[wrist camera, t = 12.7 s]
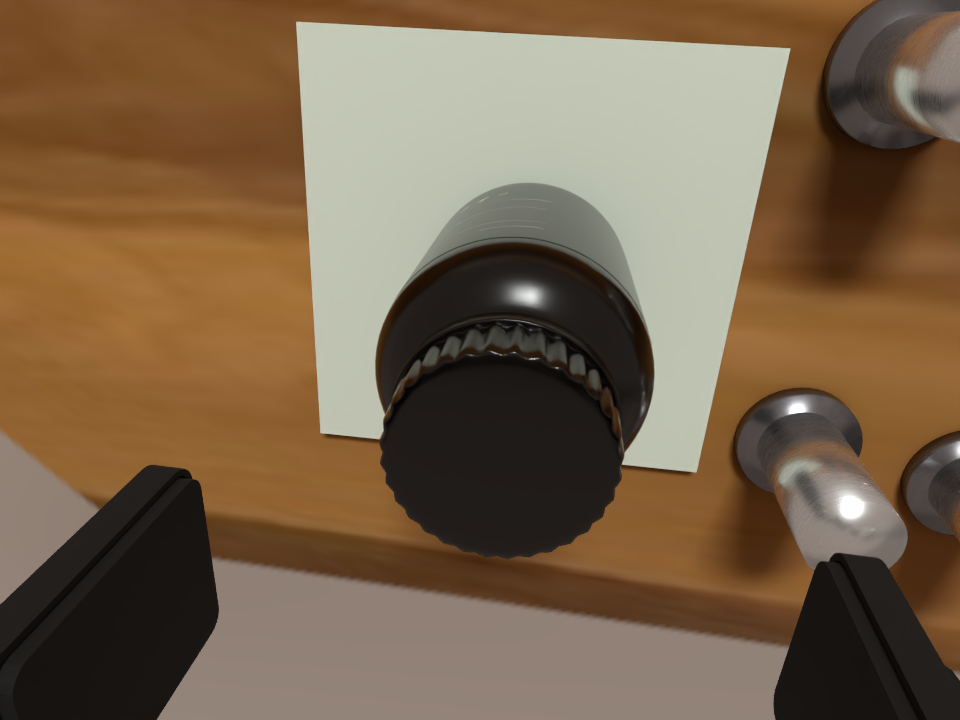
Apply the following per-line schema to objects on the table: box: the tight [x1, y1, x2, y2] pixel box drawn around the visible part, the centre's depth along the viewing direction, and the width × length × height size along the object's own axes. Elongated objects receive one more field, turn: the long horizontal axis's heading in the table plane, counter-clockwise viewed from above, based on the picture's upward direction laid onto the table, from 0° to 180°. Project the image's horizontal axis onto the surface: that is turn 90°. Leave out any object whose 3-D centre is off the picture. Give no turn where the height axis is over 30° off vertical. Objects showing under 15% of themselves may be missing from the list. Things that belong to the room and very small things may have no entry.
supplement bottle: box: [375, 183, 655, 559], centre depth 19 cm, size 7×7×12 cm
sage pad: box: [296, 22, 790, 472], centre depth 24 cm, size 15×15×1 cm
